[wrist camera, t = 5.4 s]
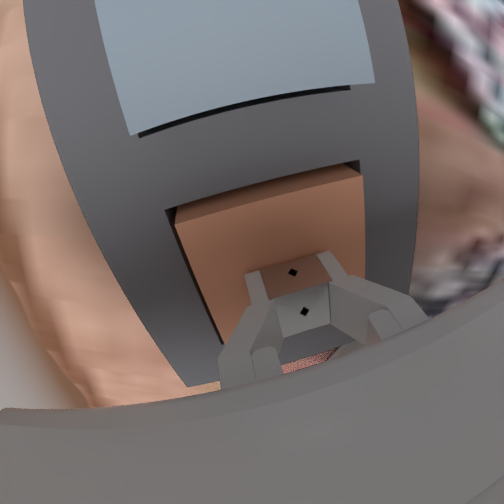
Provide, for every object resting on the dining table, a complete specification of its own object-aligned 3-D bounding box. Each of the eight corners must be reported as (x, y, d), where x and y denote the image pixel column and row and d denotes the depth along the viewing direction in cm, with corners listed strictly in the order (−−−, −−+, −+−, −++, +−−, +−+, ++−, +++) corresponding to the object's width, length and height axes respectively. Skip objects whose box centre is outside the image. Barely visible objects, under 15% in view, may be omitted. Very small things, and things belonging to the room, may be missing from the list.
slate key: (280, -48, 6) (320, -98, 3) (314, 82, 10) (375, 83, 6) (121, -16, 6) (85, -60, 3) (156, 118, 9) (130, 136, 6)
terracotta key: (315, 147, 12) (362, 175, 9) (328, 257, 15) (363, 309, 12) (181, 181, 12) (174, 224, 8) (219, 288, 15) (227, 351, 12)
